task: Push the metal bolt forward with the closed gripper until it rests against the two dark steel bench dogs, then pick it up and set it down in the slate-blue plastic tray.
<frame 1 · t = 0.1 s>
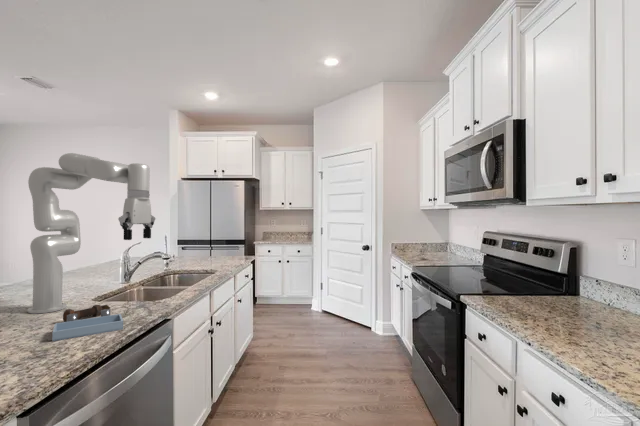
hand: (137, 239, 125), 31 cm above the countertop, tool pointing down, fingers open, 9 cm apart
bench dogs: (89, 324, 117), on the countertop
tray: (89, 330, 111), on the countertop
bolt: (88, 319, 125), on the countertop
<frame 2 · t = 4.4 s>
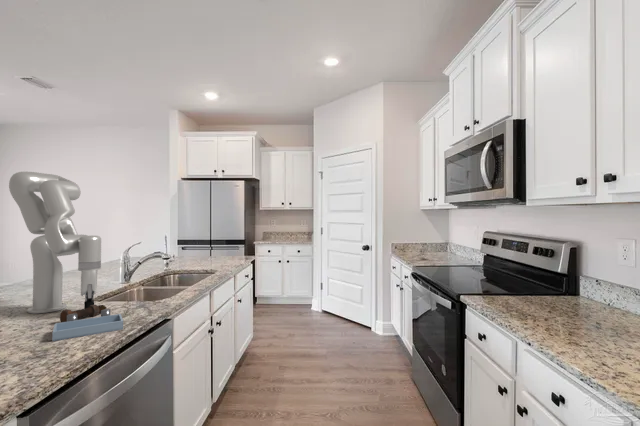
hand: (89, 310, 130), 1 cm above the countertop, tool pointing down, fingers closed
bolt: (85, 319, 124), on the countertop
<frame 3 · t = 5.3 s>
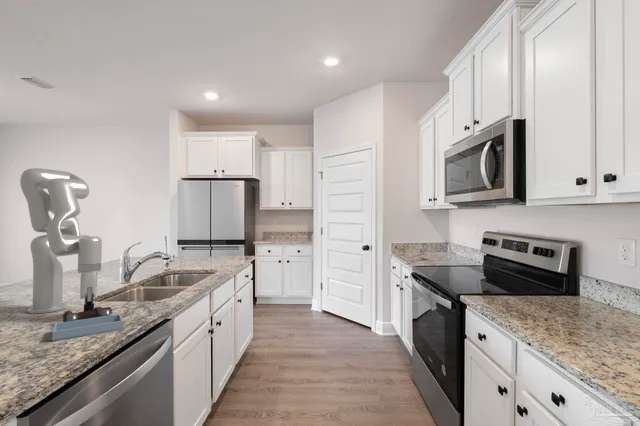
hand: (88, 314, 126), 1 cm above the countertop, tool pointing down, fingers closed
bolt: (89, 321, 122), on the countertop, touching gripper
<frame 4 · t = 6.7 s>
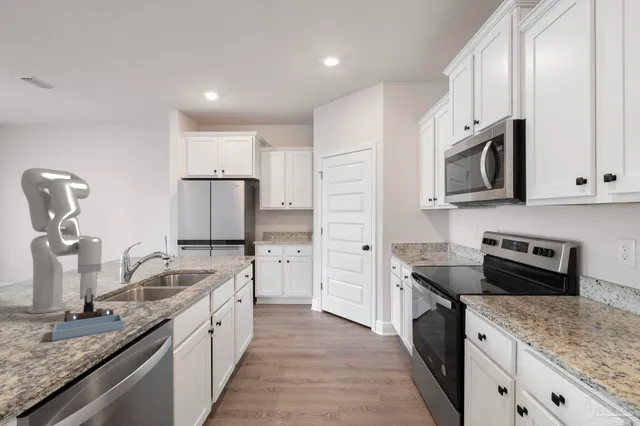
hand: (88, 314, 125), 1 cm above the countertop, tool pointing down, fingers closed
bolt: (89, 322, 120), on the countertop
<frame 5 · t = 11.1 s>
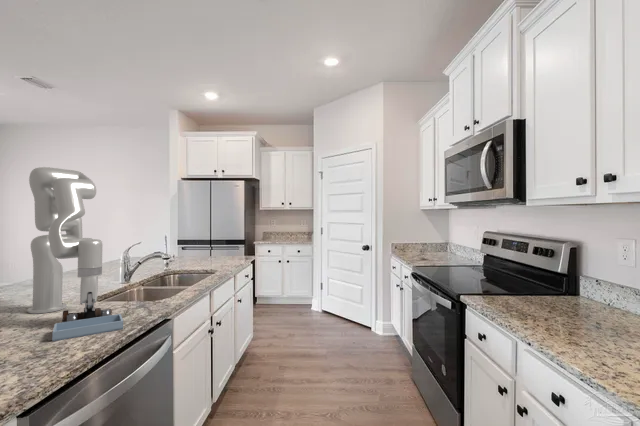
hand: (89, 319, 121), 1 cm above the countertop, tool pointing down, fingers closed on bolt, 5 cm apart
bolt: (87, 322, 120), on the countertop, touching gripper
when the fingers open (3 cm above the countertop, at t = 16.5 s): bolt drops 2 cm, resting on tray.
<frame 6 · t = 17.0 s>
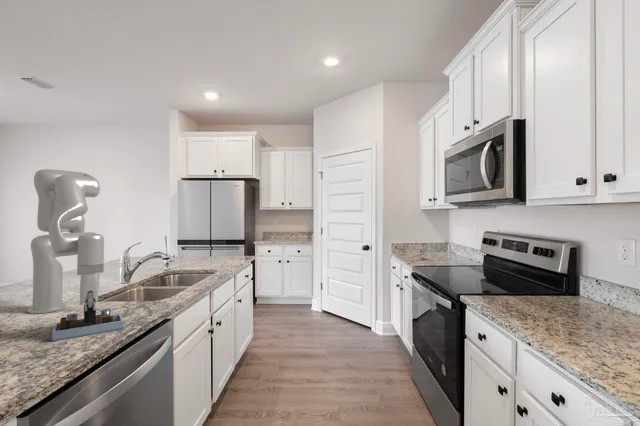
hand: (89, 318, 111), 4 cm above the countertop, tool pointing down, fingers open, 9 cm apart
bolt: (87, 330, 110), resting on tray
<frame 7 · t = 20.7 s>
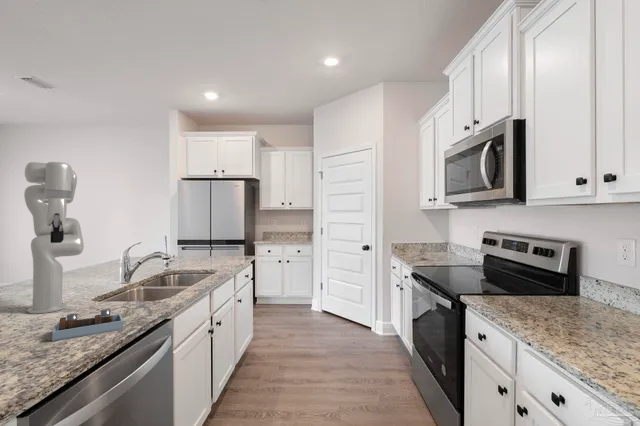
hand: (57, 241, 118), 30 cm above the countertop, tool pointing down, fingers open, 9 cm apart
nothing on the countertop moved.
at the end: bolt 0.7 cm off-centre on the tray, point 0.3 cm above the tray's base; bolt touching tray; the gripper is holding nothing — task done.
